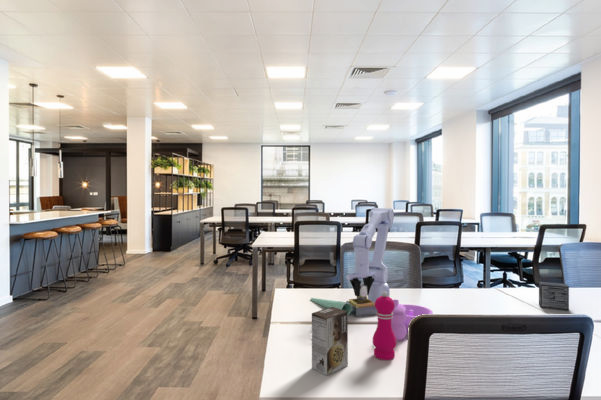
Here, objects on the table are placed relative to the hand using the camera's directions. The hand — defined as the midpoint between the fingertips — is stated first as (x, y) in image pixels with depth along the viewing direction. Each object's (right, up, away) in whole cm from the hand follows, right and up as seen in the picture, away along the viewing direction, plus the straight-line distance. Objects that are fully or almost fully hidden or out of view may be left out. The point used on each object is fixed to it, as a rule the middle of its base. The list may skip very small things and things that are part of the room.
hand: (361, 295), depth 161 cm
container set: (+13, -8, -21) cm, 26 cm away
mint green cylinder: (-14, -8, +7) cm, 17 cm away
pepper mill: (0, -8, -43) cm, 44 cm away
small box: (+86, -8, +8) cm, 86 cm away
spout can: (0, -2, 0) cm, 2 cm away
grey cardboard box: (-17, -8, -51) cm, 54 cm away
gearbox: (0, -7, 0) cm, 7 cm away
